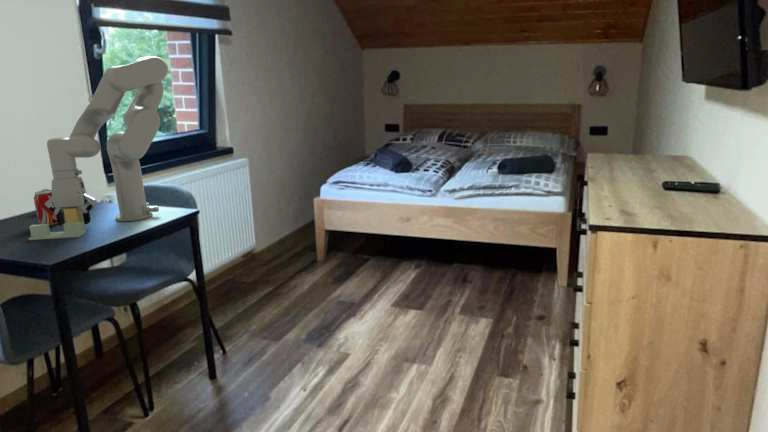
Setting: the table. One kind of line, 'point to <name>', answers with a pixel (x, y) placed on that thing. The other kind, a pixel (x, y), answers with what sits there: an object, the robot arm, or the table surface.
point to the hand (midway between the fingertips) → (74, 223)
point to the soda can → (44, 208)
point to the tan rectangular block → (73, 215)
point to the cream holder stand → (44, 232)
